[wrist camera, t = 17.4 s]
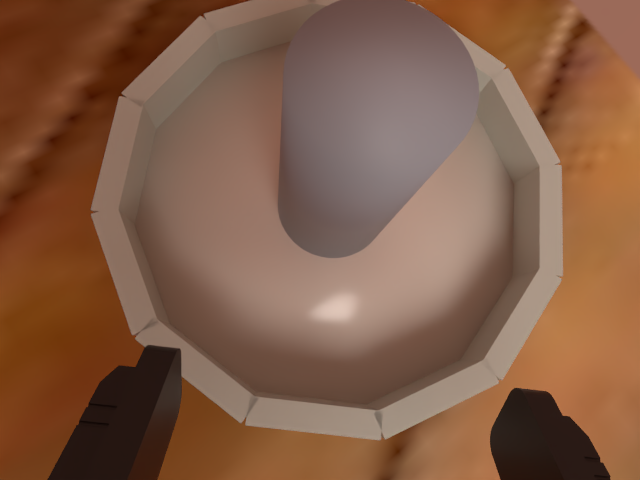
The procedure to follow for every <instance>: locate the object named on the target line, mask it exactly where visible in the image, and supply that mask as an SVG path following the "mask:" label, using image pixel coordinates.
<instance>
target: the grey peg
mask: <svg viewBox="0 0 640 480" xmlns="http://www.w3.org/2000/svg"><path fill="white" fill-rule="evenodd" d="M478 102H479V83H478V77H477V72H476V69H475V66H474V63H473V60H472V58H471V56H470V54H469V52H468V50H467V48H466V47H465V45H464V43H463V42H462V41H461V39H460V38H459V37H458V35H457V34H456V33H455V32H454V31H453V30H452V29H451V28H450V27H449V26H448V25H447V24H446V23H445V22H444V21H442V20H441V19H440V18H439V17H437V16H436V15H434V14H433V13H431V12H430V11H428V10H426V9H424V8H422V7H420V6H418V5H416V4H414V3H411V2H408V1H405V0H340V1H337V2H334V3H332V4H330V5H328V6H326V7H324V8H322V9H320V10H319V11H318V12H316V13H315V14H313V15H312V16H311V17H310V18H309V19H308V20H307V21H305V22H304V24H303V25H302V26H301V27H300V28H299V30H298V31H297V32H296V34H295V36H294V37H293V39H292V41H291V43H290V46H289V48H288V50H287V54H286V58H285V62H284V72H283V92H282V116H281V139H280V163H279V186H278V213H279V218H280V221H281V224H282V226H283V228H284V230H285V232H286V233H287V234H288V236H289V237H290V238H291V239H292V241H293V242H294V243H296V244H297V245H298V246H299V247H300V248H302V249H303V250H305V251H307V252H309V253H311V254H314V255H317V256H320V257H325V258H341V257H347V256H350V255H353V254H355V253H357V252H359V251H361V250H363V249H364V248H366V247H367V246H368V245H369V244H370V243H371V242H372V241H373V240H374V239H375V238H376V237H377V235H378V234H379V233H380V232H381V231H382V230H383V229H384V228H385V227H386V225H387V224H388V223H389V222H390V221H391V220H392V219H393V218H394V217H395V215H396V214H397V213H398V212H399V211H400V210H401V209H402V208H403V207H404V205H405V204H406V203H407V202H408V201H409V200H410V199H411V198H412V197H413V195H414V194H415V193H416V192H417V191H418V190H419V189H420V188H421V187H422V185H423V184H424V183H425V182H426V181H427V180H428V179H429V178H430V177H431V175H432V174H433V173H434V172H435V171H436V170H437V169H438V168H439V166H440V165H441V164H442V163H443V162H444V161H445V160H446V159H447V158H448V156H449V155H450V154H451V153H452V152H453V151H454V150H455V149H456V148H457V146H458V145H459V144H460V143H461V142H462V141H463V139H464V138H465V137H466V135H467V133H468V132H469V130H470V129H471V126H472V124H473V122H474V119H475V116H476V112H477V109H478Z"/></svg>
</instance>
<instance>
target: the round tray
mask: <svg viewBox="0 0 640 480" xmlns="http://www.w3.org/2000/svg"><path fill="white" fill-rule="evenodd" d="M337 1H340V0H250V1H247V2H243V3H240V4H236V5H232V6H229V7H225V8H222V9H218V10H215V11H211V12H208V13H204V18H205V19H204V18H203V17H202V16H199V17H198V18H197V19H196V20H195V21H194V22H193V23H192V24H191V25H190V26H189V27H188V28H187V29H186V30H185V31H184V32H183V33H182V34H181V35H180V36H179V37H178V38H177V39H176V40H175V41H174V42H173V43H172V44H171V45H170V46H169V47H168V48H167V49H166V50H165V51H163V52H162V53H161V54H160V55H159V56H158V57H157V58H156V59H155V60H154V61H153V62H152V63H151V64H150V65H149V66H148V67H147V68H146V69H145V70H144V71H143V72H142V73H141V74H140V75H139V76H138V77H137V78H136V79H135V80H134V81H133V82H132V83H131V84H130V85H129V86H128V87H127V88H126V89H125V90H124V91H123V92H122V95H123V97H121V96H119V99H118V103H117V107H116V111H115V115H114V119H113V123H112V127H111V131H110V135H109V139H108V143H107V146H106V150H105V154H104V158H103V162H102V166H101V170H100V174H99V178H98V182H97V186H96V190H95V194H94V198H93V202H92V206H91V211H92V212H94V213H92V214H91V217H92V220H93V223H94V225H95V228H96V231H97V234H98V237H99V240H100V243H101V246H102V249H103V252H104V255H105V258H106V261H107V264H108V267H109V269H110V272H111V275H112V278H113V281H114V284H115V287H116V290H117V293H118V296H119V299H120V302H121V305H122V308H123V310H124V313H125V316H126V319H127V322H128V325H129V328H130V331H131V334H132V335H136V337H135V340H137V341H138V342H139V343H140V344H142V345H143V346H144V347H146V346H147V345H155V346H163V347H172V348H180V349H181V376H182V377H183V378H184V379H186V380H187V381H188V382H190V383H191V384H192V385H193V386H195V387H196V388H197V389H198V390H200V391H201V392H202V393H203V394H205V395H206V396H207V397H208V398H210V399H211V400H212V401H213V402H215V403H216V404H217V405H218V406H220V407H221V408H222V409H223V410H225V411H226V412H227V413H228V414H230V415H231V416H232V417H233V418H235V419H236V420H237V421H239V422H240V423H242V422H243V420H244V419H245V418H246V416H247V418H246V425H247V426H256V427H265V428H274V429H283V430H292V431H301V432H310V433H319V434H328V435H337V436H346V437H355V438H364V439H373V440H381V437H382V438H384V439H387V438H389V437H391V436H393V435H395V434H397V433H399V432H401V431H403V430H405V429H407V428H409V427H411V426H413V425H416V424H418V423H420V422H422V421H424V420H426V419H428V418H430V417H432V416H434V415H436V414H438V413H440V412H442V411H444V410H446V409H448V408H450V407H452V406H454V405H456V404H458V403H460V402H462V401H464V400H466V399H468V398H470V397H472V396H474V395H476V394H478V393H480V392H482V391H484V390H486V389H488V388H490V387H492V386H494V385H496V384H498V383H499V382H498V380H503V378H504V376H505V375H506V373H507V371H508V370H509V368H510V366H511V365H512V363H513V361H514V360H515V358H516V356H517V355H518V353H519V351H520V349H521V348H522V346H523V344H524V343H525V341H526V339H527V338H528V336H529V334H530V333H531V331H532V329H533V328H534V326H535V324H536V323H537V321H538V319H539V318H540V316H541V314H542V312H543V311H544V309H545V307H546V306H547V304H548V302H549V301H550V299H551V297H552V296H553V294H554V292H555V291H556V289H557V287H558V286H559V284H560V282H561V280H562V279H560V278H559V277H561V276H563V238H562V166H561V165H557V164H558V163H560V160H559V158H558V156H557V155H556V153H555V151H554V149H553V147H552V146H551V144H550V142H549V140H548V138H547V137H546V135H545V133H544V131H543V129H542V128H541V126H540V124H539V122H538V120H537V119H536V117H535V115H534V113H533V111H532V110H531V108H530V106H529V104H528V102H527V101H526V99H525V97H524V95H523V93H522V92H521V90H520V88H519V86H518V84H517V83H516V81H515V79H514V77H513V75H512V74H511V72H510V70H509V68H507V69H505V70H503V69H504V68H505V66H506V65H505V64H503V63H502V62H500V61H499V60H498V59H496V58H495V57H493V56H492V55H490V54H489V53H488V52H486V51H485V50H483V49H482V48H480V47H479V46H478V45H476V44H475V43H473V42H472V41H470V40H469V39H468V38H466V37H465V36H463V35H462V34H460V33H459V32H458V31H456V30H455V29H453V28H452V27H451V26H449V25H448V24H447V25H448V26H449V27H450V28H451V29H452V30H453V31H454V32H455V33H456V34H457V35H458V37H459V38H460V39H461V41H462V42H463V43H464V45H465V47H466V48H467V50H468V52H469V54H470V56H471V58H472V60H473V63H474V66H475V69H476V72H477V77H478V83H479V102H478V109H477V112H476V116H475V119H474V122H473V124H472V126H471V129H470V130H469V132H468V133H467V135H466V137H465V138H464V139H463V141H462V142H461V143H460V144H459V145H458V146H457V148H456V149H455V150H454V151H453V152H452V153H451V154H450V155H449V156H448V158H447V159H446V160H445V161H444V162H443V163H442V164H441V165H440V166H439V168H438V169H437V170H436V171H435V172H434V173H433V174H432V175H431V177H430V178H429V179H428V180H427V181H426V182H425V183H424V184H423V185H422V187H421V188H420V189H419V190H418V191H417V192H416V193H415V194H414V195H413V197H412V198H411V199H410V200H409V201H408V202H407V203H406V204H405V205H404V207H403V208H402V209H401V210H400V211H399V212H398V213H397V214H396V215H395V217H394V218H393V219H392V220H391V221H390V222H389V223H388V224H387V225H386V227H385V228H384V229H383V230H382V231H381V232H380V233H379V234H378V235H377V237H376V238H375V239H374V240H373V241H372V242H371V243H370V244H369V245H368V246H367V247H366V248H364V249H363V250H361V251H359V252H357V253H355V254H353V255H350V256H347V257H341V258H325V257H320V256H317V255H314V254H311V253H309V252H307V251H305V250H303V249H302V248H300V247H299V246H298V245H297V244H296V243H294V242H293V241H292V239H291V238H290V237H289V236H288V234H287V233H286V232H285V230H284V228H283V226H282V224H281V221H280V218H279V213H278V186H279V163H280V139H281V116H282V92H283V72H284V62H285V58H286V54H287V50H288V48H289V46H290V43H291V41H292V39H293V37H294V36H295V34H296V32H297V31H298V30H299V28H300V27H301V26H302V25H303V24H304V22H305V21H307V20H308V19H309V18H310V17H311V16H312V15H313V14H315V13H316V12H318V11H319V10H320V9H322V8H324V7H326V6H328V5H330V4H332V3H334V2H337ZM411 3H413V2H411ZM414 4H416V3H414ZM418 6H420V7H422V6H421V5H418ZM422 8H423V7H422ZM424 9H425V8H424Z"/></svg>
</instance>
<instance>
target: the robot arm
mask: <svg viewBox="0 0 640 480" xmlns="http://www.w3.org/2000/svg"><path fill="white" fill-rule="evenodd" d="M181 393H182V382H181V349H180V348H172V347H163V346H155V345H147V346H146V347H145V349H144V351H143V353H142V355H141V357H140V359H139V361H138V363H137V365H136V367H128V366H118V367H117V368H116V369H114V370H113V371H112V372H111V373H110V374H109V375H108V376H106V377H105V378H104V379H103V380H102V381H101V382H100V383H99V385H98V387H97V389H96V391H95V392H94V394H93V396H92V398H91V400H90V402H89V405H88V407H86V409H85V411H84V413H83V415H82V417H81V418H80V420H79V424H78V425H77V426H76V428H75V430H74V431H73V433H72V435H71V437H70V439H69V441H68V443H67V445H66V446H65V448H64V450H63V452H62V454H61V456H60V458H59V459H58V461H57V463H56V465H55V467H54V469H53V471H52V472H51V474H50V476H49V478H48V480H157V479H158V476H159V473H160V469H161V466H162V463H163V460H164V457H165V454H166V451H167V448H168V445H169V442H170V439H171V436H172V433H173V429H174V426H175V423H176V420H177V417H178V413H179V408H180V402H181ZM490 446H491V452H492V455H493V458H494V461H495V464H496V467H497V470H498V473H499V476H500V479H501V480H610V475H609V473H608V471H607V469H606V468H605V466H604V464H603V463H601V462H600V457H599V455H598V453H597V451H596V450H595V448H594V446H593V444H592V442H591V441H590V439H589V437H588V436H587V435H586V434H585V433H584V432H583V430H582V429H581V428H580V427H579V426H578V425H577V424H576V423H575V422H574V421H573V420H572V419H571V418H570V417H568V416H562V414H561V412H560V410H559V408H558V406H557V404H556V402H555V400H554V399H553V397H552V396H551V394H550V393H548V392H546V391H539V390H530V389H521V388H514V389H513V390H512V391H511V392H510V394H509V396H508V398H507V400H506V402H505V403H504V405H503V407H502V409H501V411H500V413H499V415H498V417H497V419H496V421H495V423H494V425H493V427H492V430H491V435H490Z"/></svg>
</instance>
